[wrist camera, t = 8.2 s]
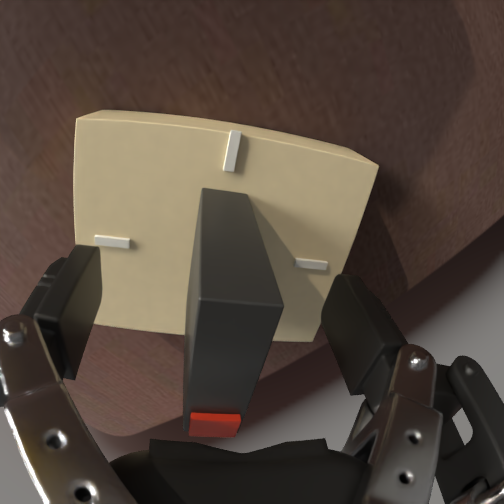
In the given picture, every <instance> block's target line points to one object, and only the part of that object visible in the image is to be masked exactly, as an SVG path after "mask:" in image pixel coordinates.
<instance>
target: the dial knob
mask: <svg viewBox="0 0 504 504" xmlns="http://www.w3.org/2000/svg"><path fill="white" fill-rule="evenodd" d="M283 309H284V303H283V300H282V297H281V294H280V291H279V287H278V284H277V281H276V278H275V275H274V272H273V269H272V266H271V263H270V260H269V257H268V254H267V251H266V248H265V245H264V242H263V239H262V236H261V233H260V230H259V227H258V224H257V221H256V218H255V215H254V212H253V209H252V206H251V203H250V200H249V197H248V194H244V193H238V192H231V191H224V190H217V189H210V188H202V190H201V196H200V203H199V209H198V216H197V223H196V230H195V237H194V244H193V252H192V259H191V267H190V275H189V284H188V292H187V301H186V319H185V343H184V378H183V430H184V431H189V436H203V437H235V436H236V433H238V431H239V428H240V426H241V423H242V421H243V418H244V416H245V413H246V410H247V408H248V405H249V403H250V400H251V397H252V395H253V392H254V389H255V387H256V384H257V382H258V379H259V376H260V373H261V371H262V368H263V365H264V362H265V360H266V357H267V354H268V351H269V349H270V346H271V343H272V340H273V337H274V335H275V332H276V329H277V326H278V323H279V320H280V317H281V314H282V312H283Z"/></svg>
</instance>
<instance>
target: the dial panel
mask: <svg viewBox="0 0 504 504" xmlns="http://www.w3.org/2000/svg"><path fill="white" fill-rule="evenodd" d="M378 168H379V166H378V165H377V164H375V163H374V162H372V161H370V160H368V159H367V158H365V157H363V156H362V155H360V154H358V153H356V152H354V151H353V150H351V149H349V148H346V147H342V146H339V145H335V144H331V143H327V142H323V141H319V140H315V139H311V138H306V137H302V136H297V135H293V134H288V133H284V132H279V131H274V130H269V129H264V128H258V127H253V126H248V125H242V124H236V123H230V122H223V121H217V120H210V119H203V118H195V117H188V116H179V115H170V114H160V113H149V112H137V111H122V110H100V111H97V112H94V113H91V114H88V115H85V116H82V117H79V118H77V119H76V131H75V148H74V221H75V239H76V245H77V244H81V245H90V246H98V247H99V248H100V254H101V272H102V287H103V290H102V300H101V304H100V307H99V309H98V312H97V315H96V318H95V320H94V323H93V324H99V325H105V326H112V327H119V328H127V329H134V330H142V331H151V332H160V333H169V334H179V335H185V319H186V301H187V292H188V284H189V275H190V267H191V259H192V252H193V244H194V237H195V230H196V223H197V216H198V209H199V203H200V196H201V190H202V188H210V189H217V190H224V191H231V192H238V193H244V194H248V197H249V200H250V203H251V206H252V209H253V212H254V215H255V218H256V221H257V224H258V227H259V230H260V233H261V236H262V239H263V242H264V245H265V248H266V251H267V254H268V257H269V260H270V263H271V266H272V269H273V272H274V275H275V278H276V281H277V284H278V287H279V291H280V294H281V297H282V300H283V303H284V309H283V312H282V314H281V317H280V320H279V323H278V326H277V329H276V332H275V335H274V337H273V340H272V341H292V342H312V341H313V339H314V337H315V335H316V332H317V330H318V328H319V326H320V323H321V311H322V308H323V305H324V303H325V300H326V298H327V295H328V293H329V290H330V288H331V285H332V283H333V280H334V278H335V277H336V275H338V274H341V273H342V270H343V268H344V265H345V263H346V260H347V257H348V255H349V252H350V250H351V247H352V244H353V242H354V239H355V236H356V233H357V231H358V228H359V225H360V222H361V219H362V217H363V214H364V211H365V208H366V205H367V202H368V199H369V196H370V193H371V190H372V187H373V184H374V181H375V178H376V175H377V171H378Z"/></svg>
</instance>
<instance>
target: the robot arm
mask: <svg viewBox="0 0 504 504" xmlns="http://www.w3.org/2000/svg"><path fill="white" fill-rule="evenodd" d="M102 290H103V287H102V272H101V254H100V248H99V247H98V246H90V245H81V244H77V245H76V246H75V247H74V249H73V250H72V252H71V253H70V255H69V257H68V258H63V257H61V258H60V259H58V260H57V261H55V262H54V263H52V264H51V265H50V266H49V267H48V269H47V270H46V272H45V273H44V275H43V277H42V278H41V279H40V281H39V282H38V286H36V287H35V289H34V290H33V292H32V293H31V295H30V297H29V298H28V300H27V302H26V303H25V305H24V307H23V308H22V310H21V312H20V313H19V314H17V315H11V316H8V317H6V318H4V319H3V320H1V321H0V407H4V408H5V412H6V415H7V418H8V421H9V424H10V427H11V430H12V432H13V435H14V438H15V440H16V443H17V446H18V448H19V451H20V453H21V456H22V458H23V460H24V463H25V465H26V467H27V470H28V472H29V474H30V476H31V478H32V480H33V482H34V484H35V486H36V488H37V490H38V492H39V494H40V496H41V498H42V500H43V502H44V504H429V500H430V496H431V491H432V487H433V482H434V477H436V479H437V482H438V485H439V488H440V491H441V493H442V496H443V499H444V502H445V504H504V403H503V402H502V400H501V398H500V397H499V395H498V393H497V392H496V390H495V388H494V387H493V385H492V383H491V382H490V380H489V378H488V377H487V375H486V374H485V372H484V371H483V369H482V368H481V366H480V365H479V364H478V363H477V362H476V361H475V360H473V359H472V358H470V357H467V356H458V357H457V358H456V359H455V360H454V362H453V363H452V365H451V366H445V365H440V364H436V362H435V359H434V358H433V356H432V355H431V354H430V353H429V352H428V351H427V350H425V349H424V348H422V347H420V346H417V345H414V344H408V342H407V341H406V339H405V338H404V336H403V335H402V333H401V331H400V330H399V328H398V327H397V325H396V324H395V322H394V321H393V319H391V316H390V314H389V313H388V311H386V308H385V307H384V305H383V304H382V302H381V301H380V299H379V298H378V297H376V296H375V295H374V294H373V293H372V292H371V291H369V290H368V289H367V287H366V286H365V284H364V283H363V281H362V280H361V278H360V277H359V276H356V275H345V274H338V275H336V277H335V278H334V280H333V283H332V285H331V288H330V290H329V293H328V295H327V298H326V300H325V303H324V305H323V308H322V311H321V323H322V326H323V329H324V331H325V334H326V336H327V338H328V341H329V343H330V345H331V348H332V350H333V353H334V355H335V358H336V360H337V362H338V365H339V367H340V370H341V372H342V375H343V377H344V379H345V382H346V385H347V387H348V390H349V392H350V395H361V394H364V395H365V397H366V399H365V400H364V402H363V403H362V405H361V407H360V410H359V412H358V415H357V418H356V420H355V423H354V425H353V428H352V430H351V433H350V435H349V437H348V440H347V442H346V444H345V446H344V448H343V450H342V451H341V452H339V451H335V450H330V449H328V447H327V443H326V440H325V438H323V439H314V440H304V441H291V442H284V443H281V444H278V445H274V446H271V447H267V448H264V449H260V450H256V451H253V452H249V453H237V452H232V451H227V450H223V449H219V448H215V447H211V446H207V445H203V444H199V443H195V442H194V443H193V442H179V441H167V440H156V439H150V446H149V450H143V451H138V452H133V453H130V454H127V455H124V456H121V457H119V458H117V459H115V460H113V461H111V462H110V463H109V462H108V461H107V459H106V458H105V456H104V455H103V453H102V452H101V450H100V448H99V447H98V445H97V443H96V442H95V440H94V439H93V437H92V435H91V434H90V432H89V430H88V428H87V426H86V425H85V423H84V421H83V419H82V418H81V416H80V414H79V412H78V410H77V408H76V406H75V404H74V402H73V400H72V398H71V397H70V395H69V392H68V390H67V388H66V386H65V384H64V383H63V378H66V379H71V380H75V379H76V375H77V372H78V369H79V365H80V362H81V359H82V356H83V353H84V350H85V347H86V344H87V341H88V338H89V335H90V332H91V329H92V326H93V323H94V320H95V318H96V315H97V312H98V309H99V307H100V304H101V300H102ZM461 408H463V410H464V412H465V414H466V416H467V418H468V420H469V422H470V424H471V426H472V429H473V435H472V438H471V440H470V441H469V442H468V443H467V444H466V445H464V443H463V441H462V439H461V437H460V435H459V432H458V430H457V428H456V426H455V424H454V422H453V420H452V417H453V416H454V415H455V414H456V413H457V412H458V411H459V410H460V409H461Z"/></svg>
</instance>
